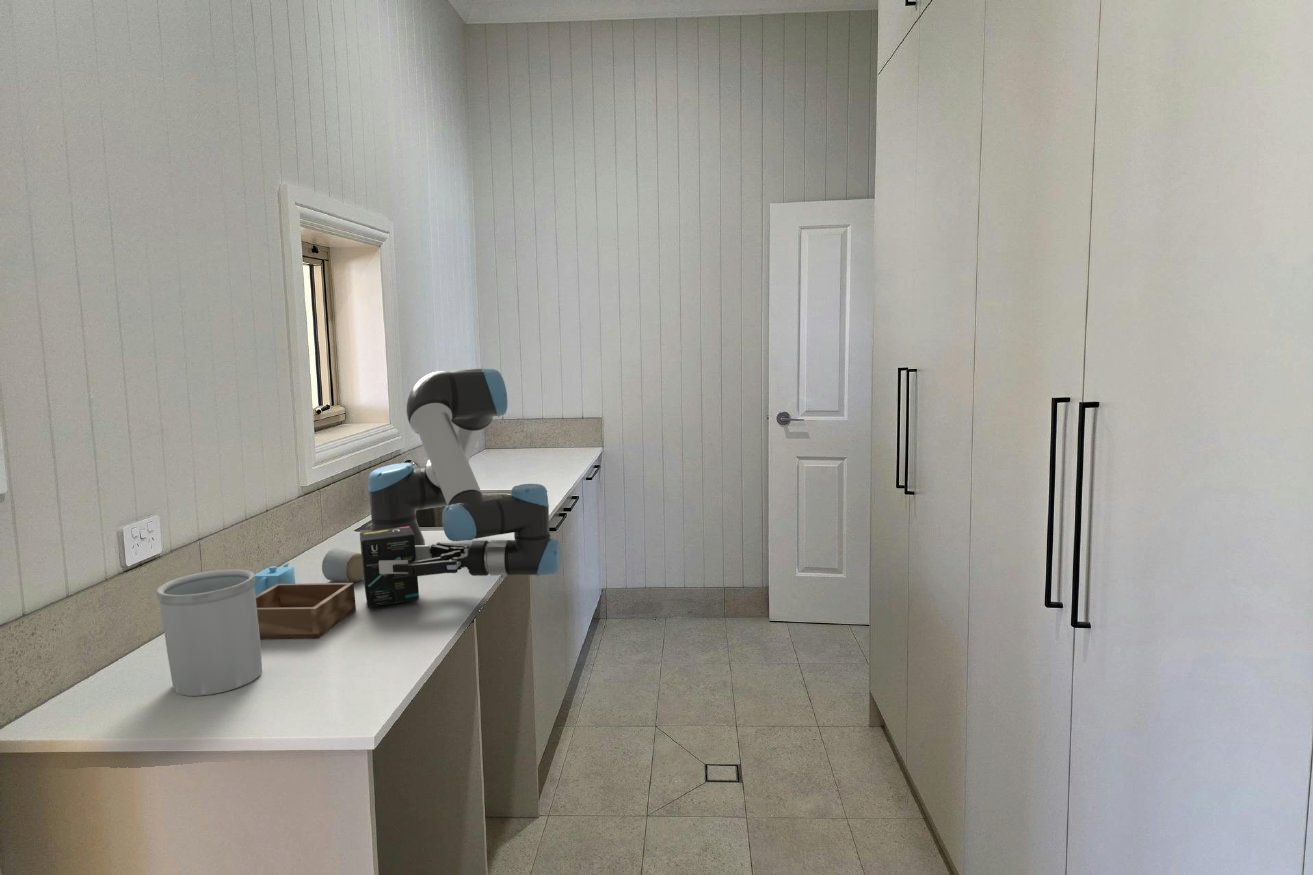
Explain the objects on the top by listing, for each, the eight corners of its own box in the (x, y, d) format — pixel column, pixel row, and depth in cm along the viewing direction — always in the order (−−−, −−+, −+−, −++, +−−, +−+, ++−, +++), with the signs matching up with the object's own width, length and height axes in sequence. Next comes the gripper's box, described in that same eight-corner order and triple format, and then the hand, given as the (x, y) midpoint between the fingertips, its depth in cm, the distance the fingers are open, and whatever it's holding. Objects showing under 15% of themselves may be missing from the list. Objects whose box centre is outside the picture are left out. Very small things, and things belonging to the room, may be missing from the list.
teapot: (278, 590, 199) (275, 558, 198) (303, 589, 199) (300, 558, 198) (250, 606, 187) (247, 573, 186) (277, 606, 187) (274, 572, 186)
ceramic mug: (349, 586, 199) (347, 554, 199) (322, 584, 202) (319, 552, 202) (379, 575, 209) (377, 544, 208) (353, 572, 212) (351, 542, 211)
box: (279, 610, 183) (276, 583, 182) (356, 610, 182) (353, 582, 181) (234, 639, 166) (231, 609, 165) (318, 638, 165) (315, 608, 164)
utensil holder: (162, 705, 137) (150, 599, 134) (173, 673, 150) (162, 576, 148) (263, 687, 142) (253, 585, 140) (265, 657, 156) (256, 564, 154)
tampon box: (415, 588, 192) (410, 525, 190) (420, 600, 184) (415, 533, 182) (364, 595, 188) (359, 530, 186) (366, 607, 180) (361, 540, 178)
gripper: (474, 591, 172) (369, 592, 174) (504, 559, 196) (411, 561, 197) (471, 555, 171) (366, 557, 173) (502, 527, 195) (409, 529, 197)
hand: (390, 559), depth 185 cm, fingers closed on tampon box, 11 cm apart
